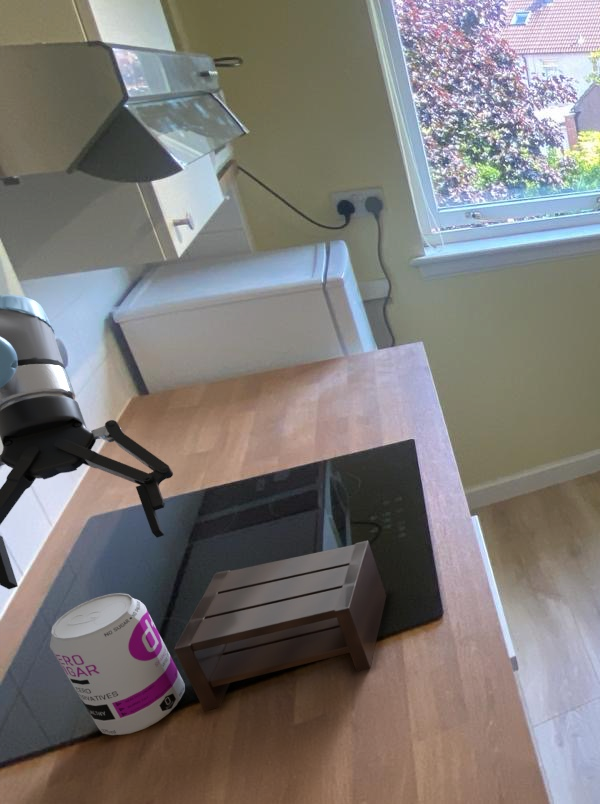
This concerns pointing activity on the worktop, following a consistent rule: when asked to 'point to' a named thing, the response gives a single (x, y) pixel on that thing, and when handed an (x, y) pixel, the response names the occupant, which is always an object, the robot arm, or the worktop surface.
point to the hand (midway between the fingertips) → (87, 558)
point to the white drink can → (117, 663)
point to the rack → (282, 618)
